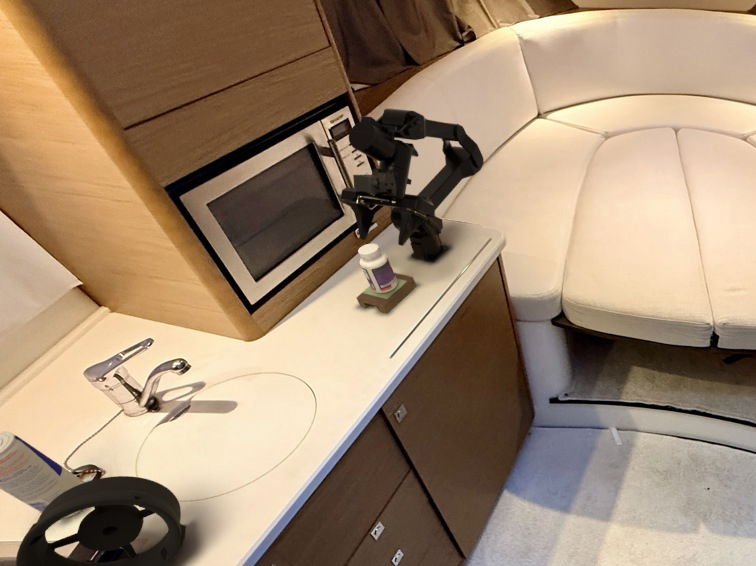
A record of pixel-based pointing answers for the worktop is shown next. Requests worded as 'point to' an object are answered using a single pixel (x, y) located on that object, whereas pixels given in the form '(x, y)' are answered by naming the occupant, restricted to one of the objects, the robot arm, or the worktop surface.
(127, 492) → the black wheel
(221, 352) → the worktop surface
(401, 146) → the robot arm
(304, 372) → the worktop surface
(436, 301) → the worktop surface
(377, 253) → the pill bottle
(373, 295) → the box with green label
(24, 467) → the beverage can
